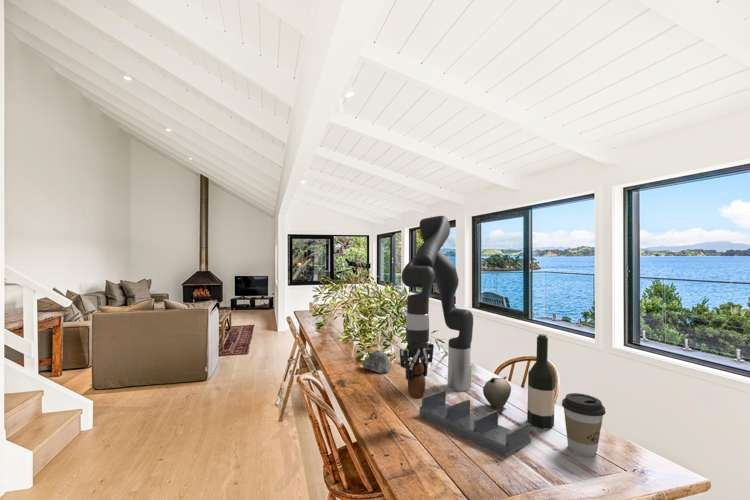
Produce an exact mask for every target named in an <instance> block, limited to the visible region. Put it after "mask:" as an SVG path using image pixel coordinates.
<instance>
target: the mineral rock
mask: <svg viewBox="0 0 750 500" xmlns="http://www.w3.org/2000/svg"><path fill="white" fill-rule="evenodd" d="M361 366H362V367H363V368H365V369H367V370H369V371H372V372H375V373H378V374H383V375H384V374H388V373H389V372H390V370H391V363H390V359H389V357H388V355H387V354H386V353H384V352H382V351H381V350H379V349H377V350H375V351H373V352H370V353H369V354H368V356H366V357H365V358H364V360H363V362H362V363H361Z"/></svg>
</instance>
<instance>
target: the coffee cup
mask: <svg viewBox="0 0 750 500" xmlns="http://www.w3.org/2000/svg"><path fill="white" fill-rule="evenodd" d="M561 406H562V407H563V412H564V413H563V414H564V422H565V431H566V439H567V444H568V448H569V449H568V450H570V451H571V452H572V453H574V454H577V455H579V456H582V457H591V458H592V457H594V456H596V455H597V452H598V447H599V442H600V436H601V430H602V425H603V424H602V423H603V420H604V419H603V418H604V415H606V408H605V406H604V405H603V402H602V401H601V400H600V399H598V398H597V397H595V396H592V395H589V394H584V393H577V392H576V393H574V392H573V393H568V394H566V395H565V398H563V399H562V400H561Z"/></svg>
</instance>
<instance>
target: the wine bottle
mask: <svg viewBox="0 0 750 500" xmlns="http://www.w3.org/2000/svg"><path fill="white" fill-rule="evenodd" d="M548 347H549V338H548V337H547V334H544V333H539V334H538V336H537V337H536V357H535V359H536V361H535V363H534V364H533V366H532V367H531V368H530V370H529V371H528V375H527V376H528V377H527V407H526V409H527V411H526V412H527V414H526V415H527V418H526V421H527V422H529V423H530V427H531V426H532V427H535V428H537V429H541V430H552V429H553V427H554V426H555V403H556V401H555V398H556V397H555V396H556V395H555V394H556V375H555V373H554V371H553V370H552V367H550V365H549V363H548V353H549V352H548V349H549V348H548ZM527 422H526V423H527Z"/></svg>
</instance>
